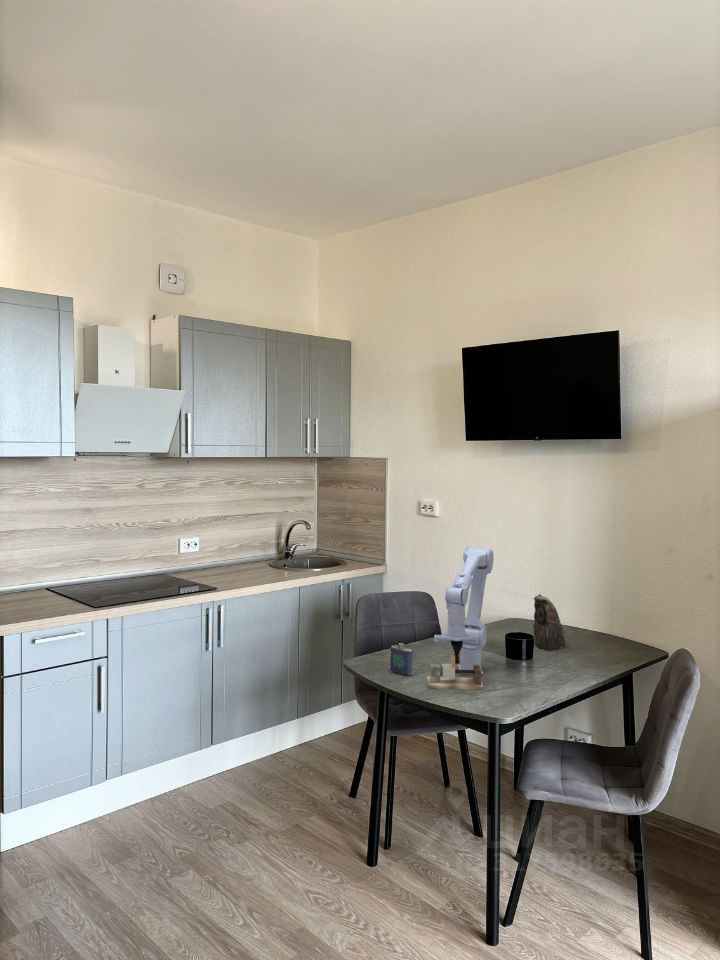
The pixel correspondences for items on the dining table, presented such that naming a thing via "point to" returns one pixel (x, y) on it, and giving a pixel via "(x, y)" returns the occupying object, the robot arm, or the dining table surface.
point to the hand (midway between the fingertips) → (456, 663)
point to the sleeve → (449, 668)
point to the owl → (547, 625)
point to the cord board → (456, 683)
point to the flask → (401, 660)
